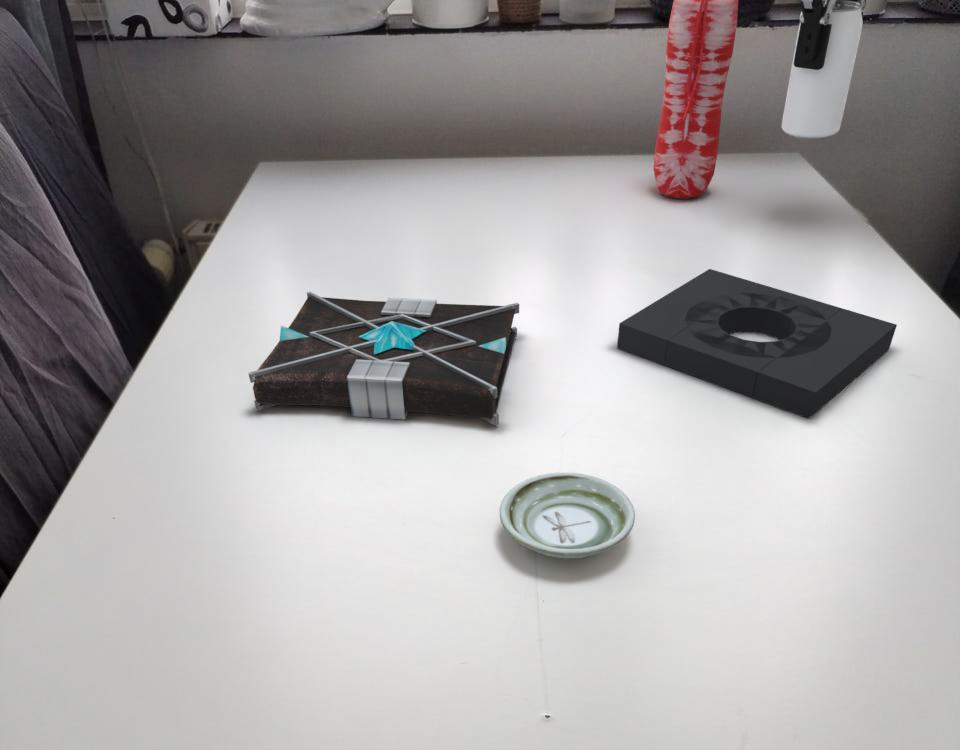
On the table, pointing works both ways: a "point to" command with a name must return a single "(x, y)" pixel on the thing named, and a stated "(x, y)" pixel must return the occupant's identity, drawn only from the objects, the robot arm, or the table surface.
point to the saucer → (567, 515)
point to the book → (390, 358)
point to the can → (824, 79)
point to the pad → (750, 364)
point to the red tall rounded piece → (693, 94)
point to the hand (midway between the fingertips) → (824, 59)
